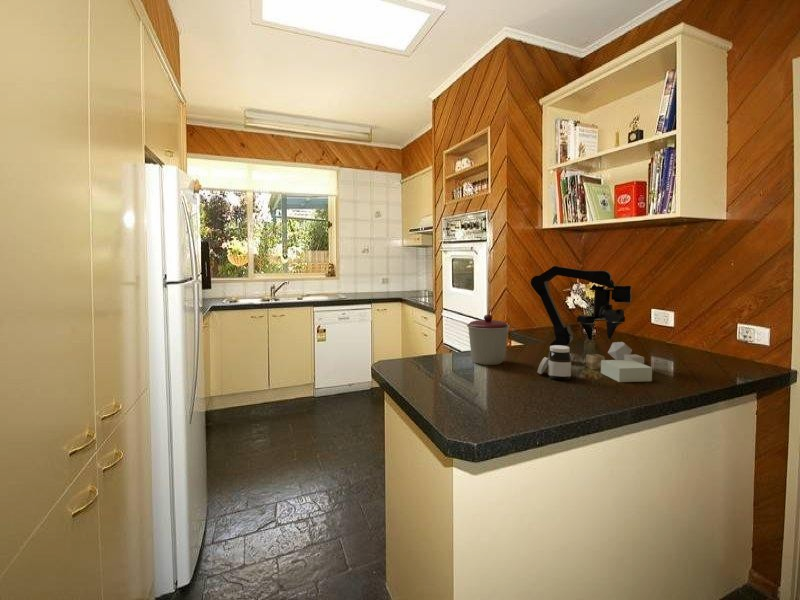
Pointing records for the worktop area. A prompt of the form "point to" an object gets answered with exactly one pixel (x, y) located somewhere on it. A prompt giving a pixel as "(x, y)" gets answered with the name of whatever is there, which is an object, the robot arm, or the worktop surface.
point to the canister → (488, 340)
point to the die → (619, 350)
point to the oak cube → (594, 361)
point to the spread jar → (557, 363)
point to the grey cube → (634, 358)
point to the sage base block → (626, 370)
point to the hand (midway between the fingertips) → (599, 339)
